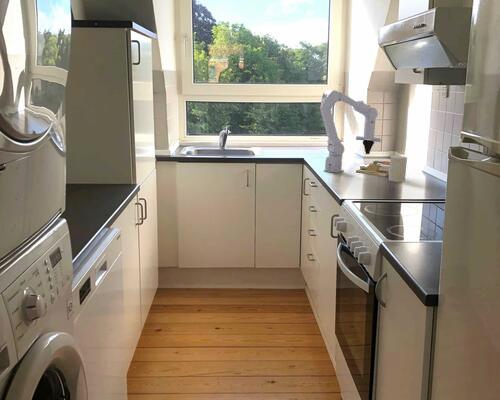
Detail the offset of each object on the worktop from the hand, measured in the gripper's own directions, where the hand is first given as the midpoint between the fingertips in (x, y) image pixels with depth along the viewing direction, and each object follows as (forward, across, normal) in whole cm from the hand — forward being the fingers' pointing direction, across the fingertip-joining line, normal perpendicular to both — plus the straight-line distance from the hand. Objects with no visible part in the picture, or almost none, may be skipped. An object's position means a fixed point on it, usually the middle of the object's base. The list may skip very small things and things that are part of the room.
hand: (367, 154), depth 312 cm
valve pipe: (+9, -7, +5) cm, 13 cm away
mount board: (+9, -7, +5) cm, 13 cm away
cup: (+10, -25, +17) cm, 32 cm away
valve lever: (+4, -12, +5) cm, 14 cm away
